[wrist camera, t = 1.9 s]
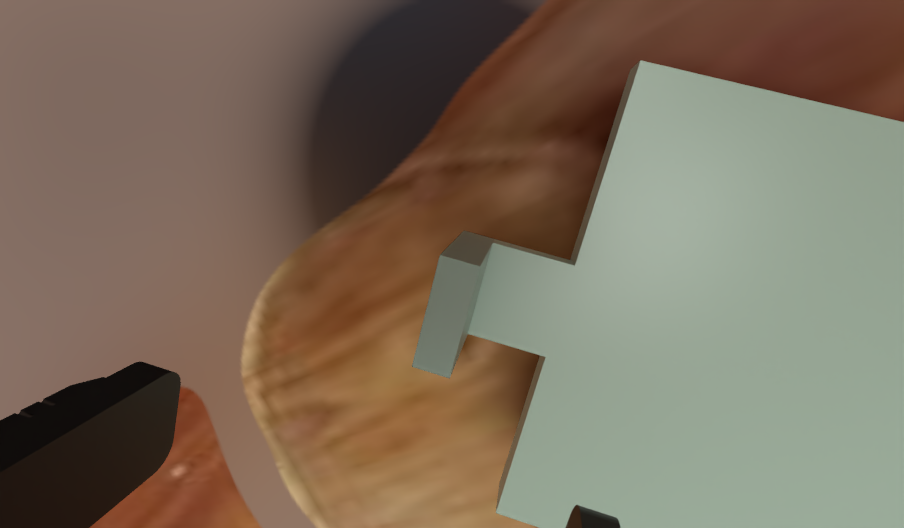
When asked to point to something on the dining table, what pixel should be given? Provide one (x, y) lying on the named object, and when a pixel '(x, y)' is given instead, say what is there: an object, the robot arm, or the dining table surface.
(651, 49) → the dining table surface
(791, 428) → the lid
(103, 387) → the robot arm
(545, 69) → the dining table surface
